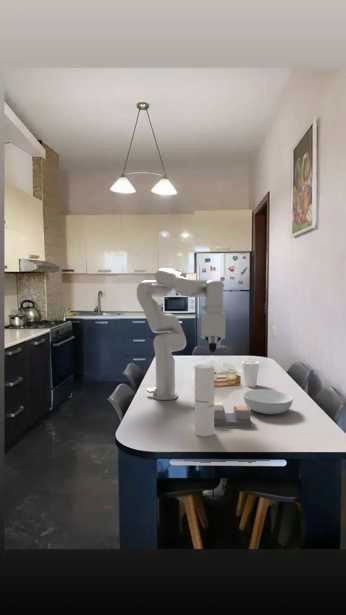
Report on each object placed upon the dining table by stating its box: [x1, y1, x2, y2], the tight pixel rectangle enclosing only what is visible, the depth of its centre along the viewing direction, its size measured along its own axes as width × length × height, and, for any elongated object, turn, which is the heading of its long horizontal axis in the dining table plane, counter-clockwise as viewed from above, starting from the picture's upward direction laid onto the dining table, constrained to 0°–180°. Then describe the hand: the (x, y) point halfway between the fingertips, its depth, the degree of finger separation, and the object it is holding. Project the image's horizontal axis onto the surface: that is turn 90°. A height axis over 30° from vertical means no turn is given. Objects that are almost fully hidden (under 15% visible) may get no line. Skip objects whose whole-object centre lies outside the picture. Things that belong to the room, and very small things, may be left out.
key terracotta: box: [235, 405, 249, 411], centre depth 145 cm, size 4×4×3 cm
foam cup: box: [241, 360, 260, 388], centre depth 201 cm, size 10×9×13 cm
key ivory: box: [214, 401, 224, 411], centre depth 146 cm, size 4×4×3 cm
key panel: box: [214, 405, 253, 428], centre depth 146 cm, size 16×10×6 cm, turn 88°
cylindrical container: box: [194, 363, 215, 437], centre depth 135 cm, size 7×7×25 cm
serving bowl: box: [243, 388, 294, 415], centre depth 159 cm, size 21×21×7 cm
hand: (212, 351), depth 156 cm, fingers closed
